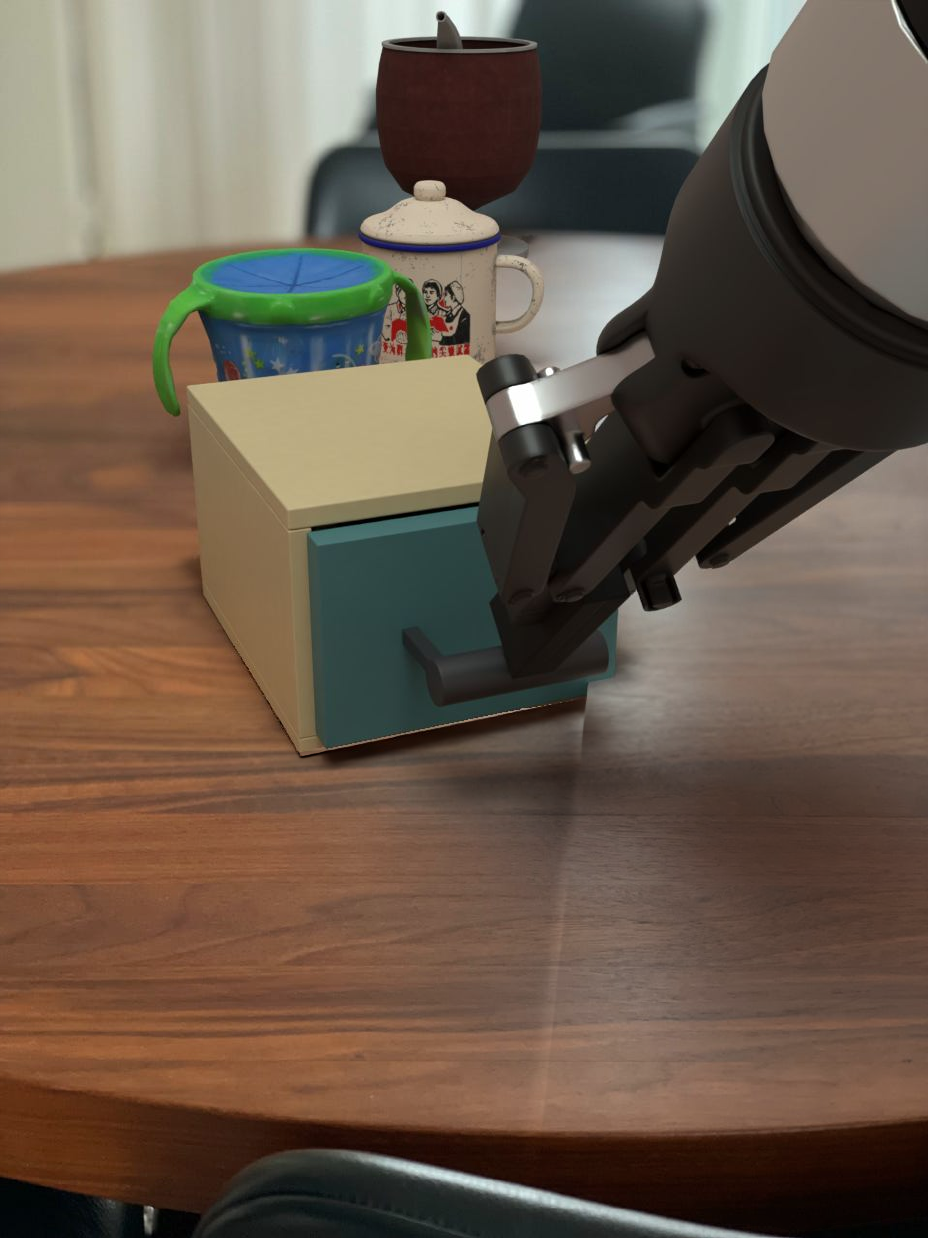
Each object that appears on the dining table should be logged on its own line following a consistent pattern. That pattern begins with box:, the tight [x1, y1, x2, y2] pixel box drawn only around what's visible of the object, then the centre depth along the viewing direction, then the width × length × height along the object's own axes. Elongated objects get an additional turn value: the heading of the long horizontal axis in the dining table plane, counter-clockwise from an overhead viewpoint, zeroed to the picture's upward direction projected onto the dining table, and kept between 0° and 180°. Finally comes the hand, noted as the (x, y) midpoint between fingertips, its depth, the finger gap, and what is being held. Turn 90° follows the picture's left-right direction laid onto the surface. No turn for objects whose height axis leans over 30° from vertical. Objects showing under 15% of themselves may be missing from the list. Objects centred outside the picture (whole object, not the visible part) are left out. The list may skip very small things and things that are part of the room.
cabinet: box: [186, 355, 589, 752], centre depth 58 cm, size 15×13×10 cm
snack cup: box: [152, 247, 432, 418], centre depth 78 cm, size 16×10×10 cm
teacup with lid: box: [358, 180, 545, 365], centre depth 93 cm, size 12×9×12 cm
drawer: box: [307, 502, 619, 749], centre depth 55 cm, size 18×11×8 cm, turn 23°
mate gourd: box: [375, 10, 543, 259], centre depth 121 cm, size 16×14×20 cm
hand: (521, 636), depth 47 cm, fingers closed
